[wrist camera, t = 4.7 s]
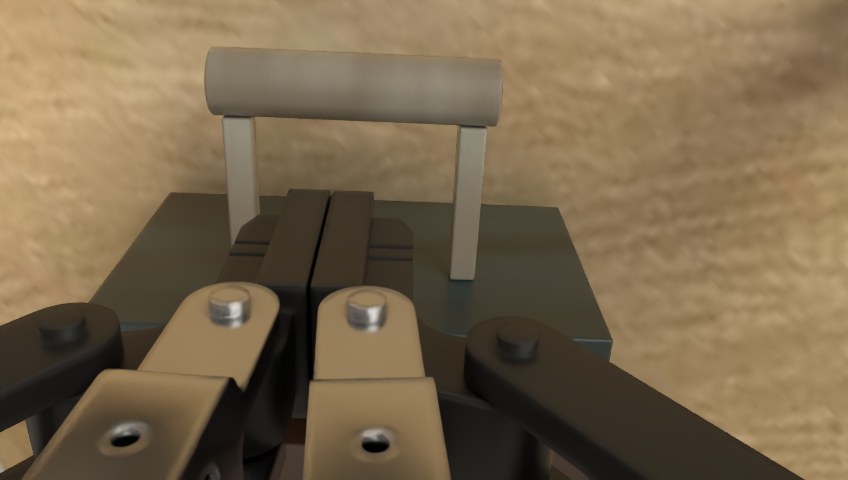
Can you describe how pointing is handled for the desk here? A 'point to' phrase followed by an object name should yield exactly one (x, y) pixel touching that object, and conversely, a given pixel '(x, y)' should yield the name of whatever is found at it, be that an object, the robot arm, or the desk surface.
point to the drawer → (430, 222)
